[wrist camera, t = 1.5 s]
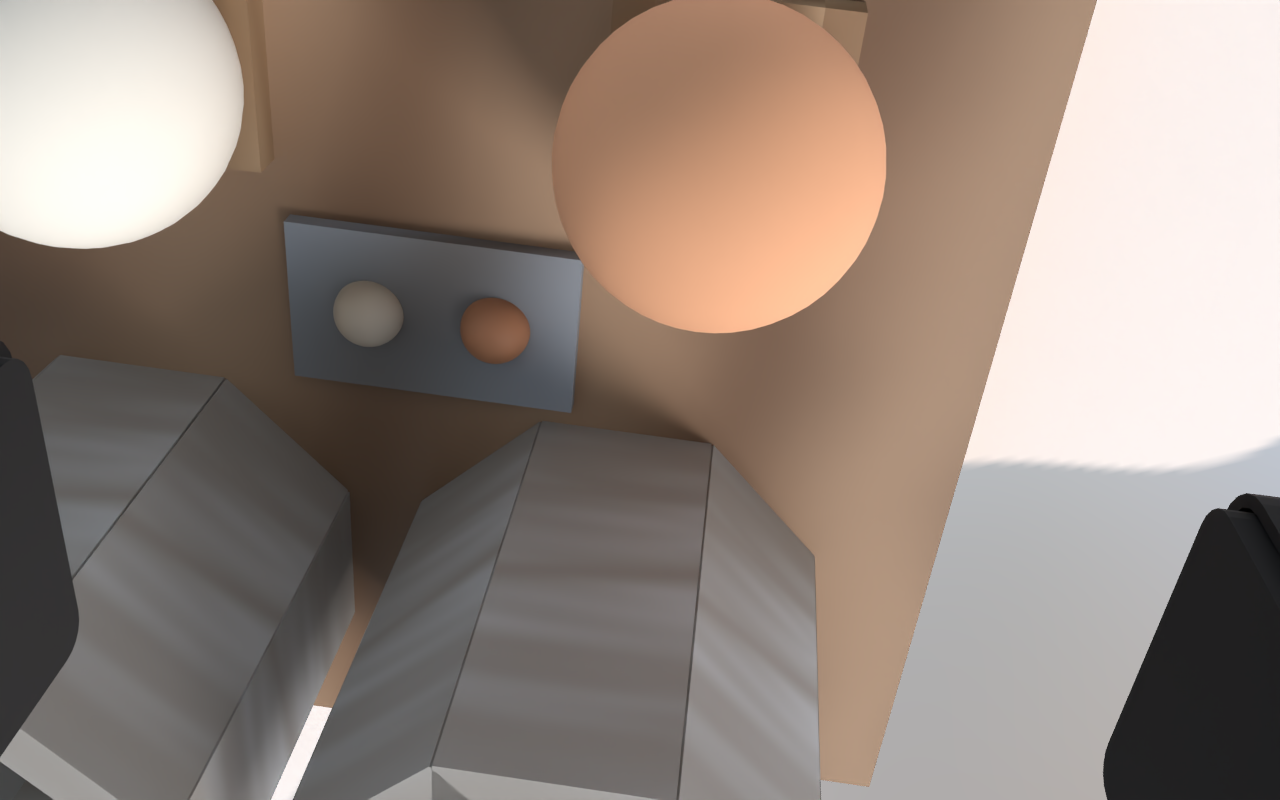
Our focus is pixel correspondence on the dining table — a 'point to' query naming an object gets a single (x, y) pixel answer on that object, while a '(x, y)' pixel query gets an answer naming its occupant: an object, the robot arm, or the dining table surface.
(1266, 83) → the dining table surface
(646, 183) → the ball terracotta
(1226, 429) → the dining table surface
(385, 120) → the stand
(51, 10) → the ball cream
